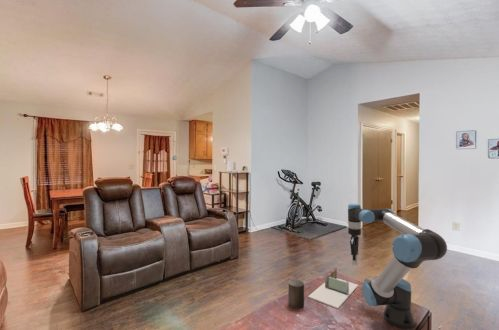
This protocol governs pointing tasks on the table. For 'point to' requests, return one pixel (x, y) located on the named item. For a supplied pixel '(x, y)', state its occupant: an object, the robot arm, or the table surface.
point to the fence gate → (339, 285)
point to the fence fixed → (331, 274)
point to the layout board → (332, 295)
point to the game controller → (367, 280)
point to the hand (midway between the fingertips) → (354, 264)
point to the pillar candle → (296, 294)
